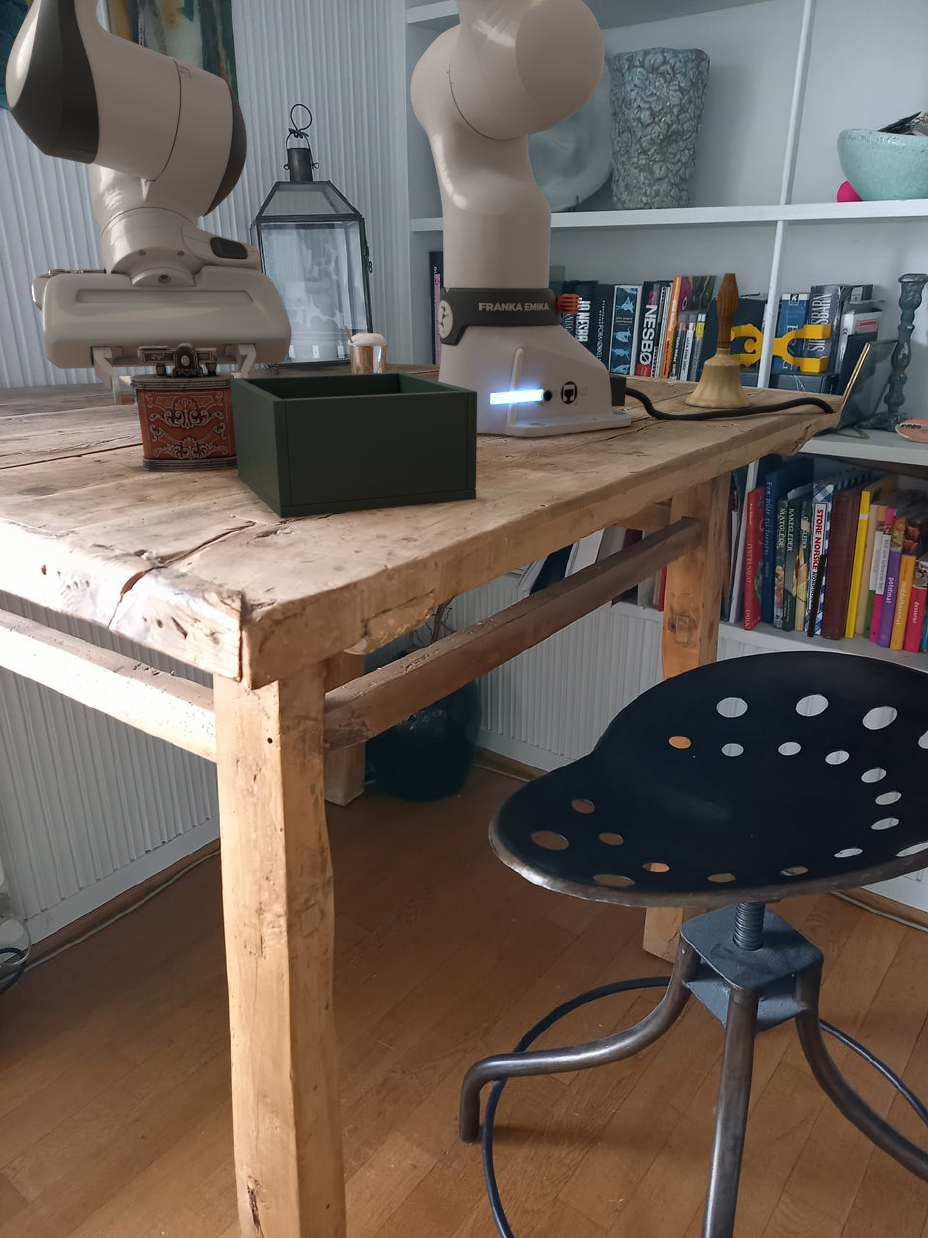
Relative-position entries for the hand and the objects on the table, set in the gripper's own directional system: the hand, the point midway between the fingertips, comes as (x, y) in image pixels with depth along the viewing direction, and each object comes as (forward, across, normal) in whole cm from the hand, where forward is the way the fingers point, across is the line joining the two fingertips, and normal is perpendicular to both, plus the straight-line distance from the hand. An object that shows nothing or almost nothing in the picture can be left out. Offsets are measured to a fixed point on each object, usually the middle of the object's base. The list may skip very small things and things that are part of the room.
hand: (185, 398), depth 75 cm
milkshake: (-14, +24, +22) cm, 35 cm away
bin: (+13, +10, -5) cm, 17 cm away
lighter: (+4, 0, +4) cm, 6 cm away
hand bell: (-8, +69, +16) cm, 71 cm away
